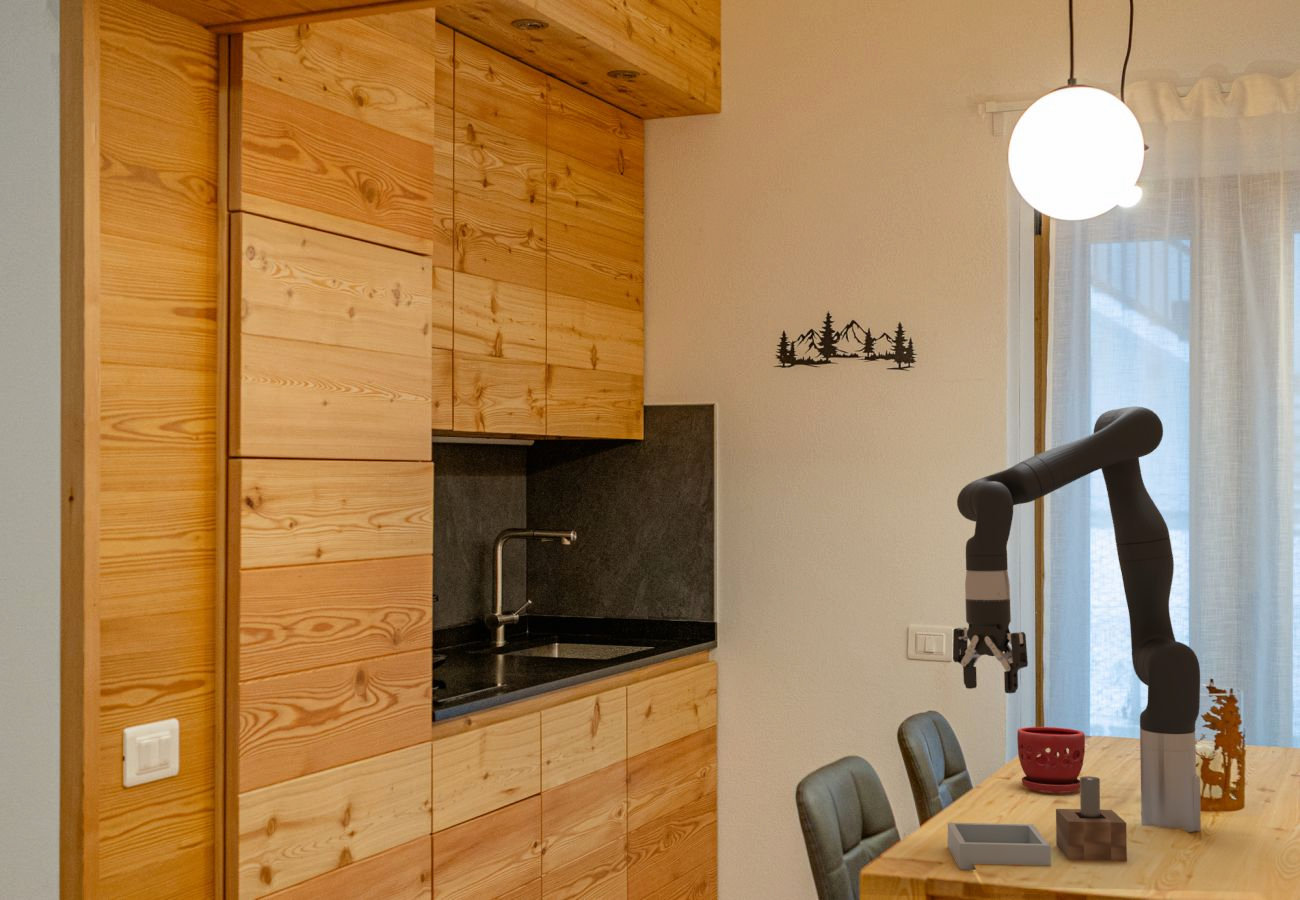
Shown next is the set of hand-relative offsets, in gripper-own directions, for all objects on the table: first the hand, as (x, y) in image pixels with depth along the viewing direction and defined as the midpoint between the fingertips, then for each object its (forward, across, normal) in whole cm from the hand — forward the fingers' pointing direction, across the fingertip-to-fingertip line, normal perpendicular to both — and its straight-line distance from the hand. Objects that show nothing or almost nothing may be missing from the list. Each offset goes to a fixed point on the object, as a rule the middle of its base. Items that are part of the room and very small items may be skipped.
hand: (990, 690), depth 230 cm
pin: (+24, -18, -2) cm, 31 cm away
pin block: (+26, -18, -2) cm, 31 cm away
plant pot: (+26, +19, -41) cm, 52 cm away
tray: (+25, -9, +10) cm, 29 cm away
